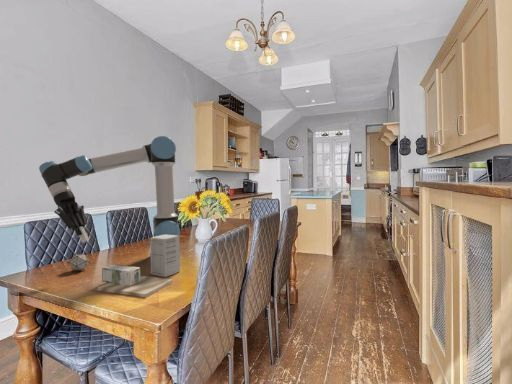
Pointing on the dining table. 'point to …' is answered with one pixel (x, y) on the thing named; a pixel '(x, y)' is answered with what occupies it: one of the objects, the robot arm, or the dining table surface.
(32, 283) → the dining table surface
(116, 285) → the cutting board
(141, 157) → the robot arm
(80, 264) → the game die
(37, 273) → the dining table surface
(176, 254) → the supplement box
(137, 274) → the syrup box
